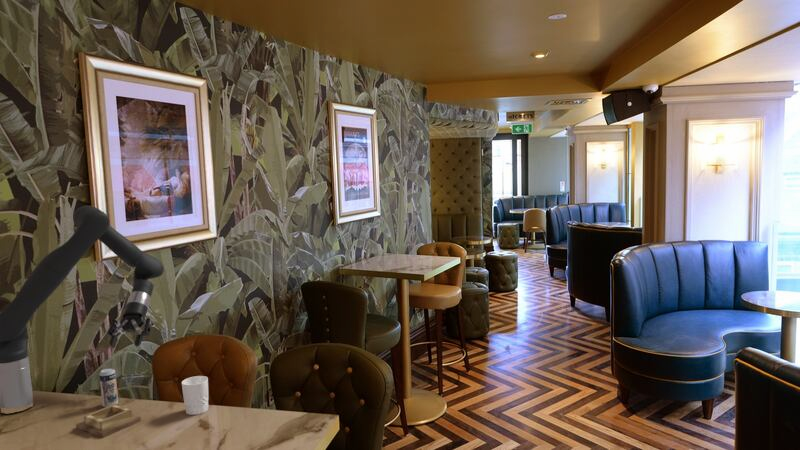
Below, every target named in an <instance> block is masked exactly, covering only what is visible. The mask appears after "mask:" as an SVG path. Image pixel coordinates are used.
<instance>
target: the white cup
mask: <svg viewBox="0 0 800 450" xmlns="http://www.w3.org/2000/svg"><path fill="white" fill-rule="evenodd" d="M181 387H182V395H183V402H184V403H183V404H184V407H185V412H186V415H190V416H191V415H192V416H196V415H201V414H204V413H205V412H207V411H208V410H209V378H208V376H204V375H196V376H191V377H187V378H185V379H184V380H182V381H181Z"/></svg>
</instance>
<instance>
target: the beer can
mask: <svg viewBox="0 0 800 450" xmlns="http://www.w3.org/2000/svg"><path fill="white" fill-rule="evenodd" d="M99 382H100V383H99V384H100V385H99V386H100V394H101V395H100V396H101V403H102V405H101V406H102V407H103V408H106V407H108V406H111V405H113V404H114V405H117V404H119V397H118V396H119V395H118V386H117V374H116V370H115V369H114V368H111V367H110V368H104V369H102V370H100V372H99Z"/></svg>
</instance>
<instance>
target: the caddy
mask: <svg viewBox="0 0 800 450" xmlns="http://www.w3.org/2000/svg"><path fill="white" fill-rule="evenodd" d="M132 410H133V409H130V408H128V407H123V406H121V405H117V404H116V405H114V404H113V405H111V406H108V407H103V408H101V409H99V410H95V411H94V412H91V413H88V414H86V415H83V420H82V421H81V422H78V423H76V425H75V426H76V429H78V428H79V429H78V430H81V429H82V430H81V431H83V430H84V431H83V432H86V431H87V432H86V433H89V434H92V435H93V436H97V437H100V438H106V437H108V436H110V435H112V434H114V433H117V432H120V431H121V430H125V429H126V428H128V427H131V426H133V425H134V424H137V423H140V422H141V421H142V419H141V418H142V417H141V416H138V415H134V414H133V411H132Z"/></svg>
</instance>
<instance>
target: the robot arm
mask: <svg viewBox="0 0 800 450" xmlns="http://www.w3.org/2000/svg"><path fill="white" fill-rule="evenodd" d="M72 220H73V221H72V222H73V225H74V226H76V228H77V229H76V230H75V232H74V233H73V234H72V235H71V237H70V238H69V239H68V240H67V241H65V243H63V244H62V245H60V246H58V247H56V248H55V249H54V250H52V251H51V252H49V253H47V254H45V256H44V257H43V258H42V259H41V261H39V263H38V264H37V265H36V266H35V267H34V269H33V270H32V271H31V272H30V274H29V276H28V277H27V278H26V279H25V281H24V283H23V284H22V286H21V288H20V290H19V292H17V294H16V295H15V297H14V299H13V300H12V301H11V302H10V303H9V304H8V305H7V306H6V307H5V308H4V309H3V310H2V311H0V407H2V408H6V409H11V408H20V407H24V406H27V405H30V404H31V403H32V402H33V403H34V397H33V396H34V395H33V387H32V386H33V385H32V379H31V369H30V361H29V360H30V359H29V347H28V333H27V325H28V323H29V321H30V319H31V318H32V317H33V316H34V314H35V312H36V311H37V310H38V309H39V307H41V305H42V304H44V303H45V302H46V300H47V299H48V298H49V297H50V296H52V295H53V293H54V292H55V291H56V289H58V287H60V286H61V284H62V283H63V282H64V280H65V279H66V278H67V277H68V275H70V272H71V271H72V270H73V269H74V267H75V266H76V265H77V264H78V263H79V262H80V260H81V259H82V258H83V256H85V254H86V253H87V252H88V251H89V250H90V248H91V247H93V245H94V244H96V242H97V241H98V240H99V241H100V242H101V243H102V244H103V245H104V246H106V247H107V248H108V249H109V250H110V251H111V252H112V253H114V254H115V255H116V256H117V257H118V258H119V259H120V260H122V261H123V262H124V263H125V264H126V265H128V266H129V267H132V268H134V269H133V287H132V289H131V292H130V295H129V297H128V299H127V302H126V305H125V308H124V310H123V313H122V318H121V319H120V320H116V319H112V321H111V323H110V325H109V328H108V331H107V335H108V336H109V337H110V341H109V345H110V347H111V348H112V349H113V348H114V349H115V348H116V346H117V343H118V340H119V339H118V338H119V337H120V336H123V335H124V334H125V333H130V332H132V333H134V332H137V335H136V337H135V340H134V343H133V345H134V346H135V347H137V348H139V347H140V346H141V344H142V341H143V338H144V337H146V336H147V337H148V336H149V335H150V334H151V329H152V325H153V321H152V319H151V318H150V317H147V318H146V316H147V313H148V310H149V307H150V303H151V299H152V294H153V291H154V284H153V282H152V281H150V280H151V279H156V278H159V277H161V276H162V275H163V274H164V272H165V269H164V265H163V263H162V261H160V259H158V258H156V257H155V256H153V255H150V254H148V253H146V252H144V251H143V250H141V249H140V248H139V247H138V246H137V245H136V244H134V243H133V242H132V241H131V240H130V239H128V238H127V237H126V236H124V235H122V234H121V232H119V231H117V230H116V229H115V228H114V227H113V226H111V225H110V220H111V219H110V218H109V215H107V214H106V212H104V211H102V210H101V209H99V208H97V207H95V206H93V205H82V206H79V207H78V208H77V209H75V211H74V213H73V216H72ZM143 325H144V327H143V330H142V328H141V327H142V326H143Z"/></svg>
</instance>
